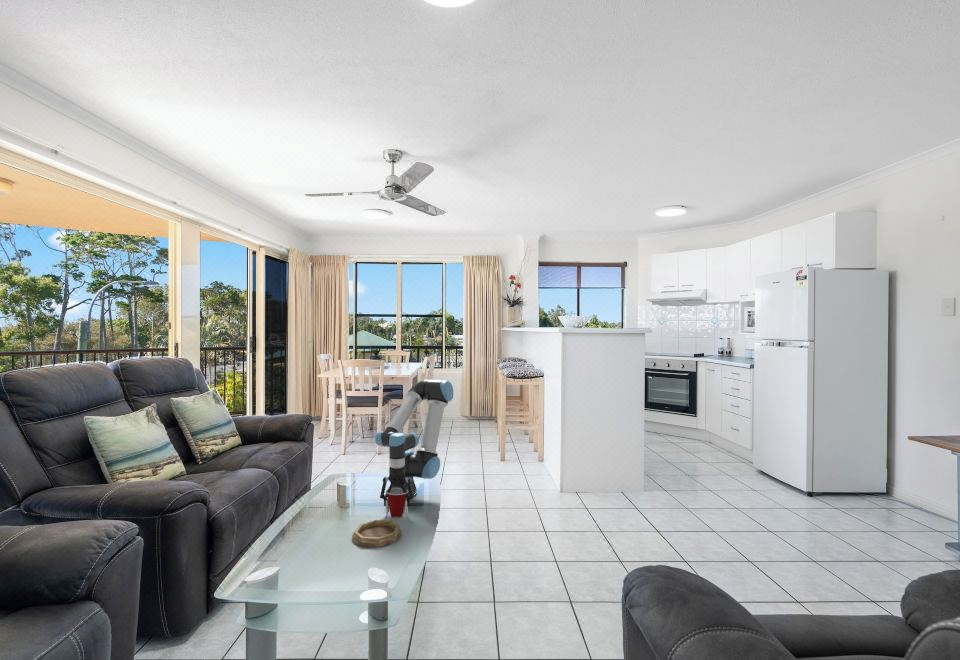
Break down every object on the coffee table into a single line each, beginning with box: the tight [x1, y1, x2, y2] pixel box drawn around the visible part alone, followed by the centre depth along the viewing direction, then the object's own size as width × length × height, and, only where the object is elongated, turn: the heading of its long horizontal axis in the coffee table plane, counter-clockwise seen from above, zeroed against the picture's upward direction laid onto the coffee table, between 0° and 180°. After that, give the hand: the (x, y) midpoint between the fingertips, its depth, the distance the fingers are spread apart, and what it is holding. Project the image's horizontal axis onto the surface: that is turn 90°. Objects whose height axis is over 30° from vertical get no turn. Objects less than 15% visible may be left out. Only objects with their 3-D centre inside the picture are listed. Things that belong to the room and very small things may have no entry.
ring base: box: [351, 519, 403, 548], centre depth 193 cm, size 21×21×3 cm
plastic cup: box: [385, 488, 408, 518], centre depth 216 cm, size 11×11×12 cm
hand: (397, 512), depth 216 cm, fingers closed on plastic cup, 9 cm apart
